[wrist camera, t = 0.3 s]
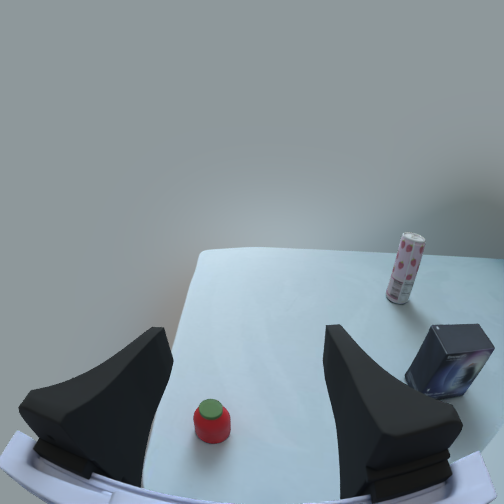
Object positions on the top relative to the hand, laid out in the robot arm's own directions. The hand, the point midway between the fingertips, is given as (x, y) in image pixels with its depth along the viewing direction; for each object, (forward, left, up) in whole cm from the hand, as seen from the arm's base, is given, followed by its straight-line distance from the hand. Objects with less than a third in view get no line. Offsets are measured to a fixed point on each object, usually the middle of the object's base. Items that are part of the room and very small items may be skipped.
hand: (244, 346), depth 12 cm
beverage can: (+42, -31, -23) cm, 57 cm away
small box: (+15, -29, -23) cm, 40 cm away
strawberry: (+8, +4, -23) cm, 24 cm away
